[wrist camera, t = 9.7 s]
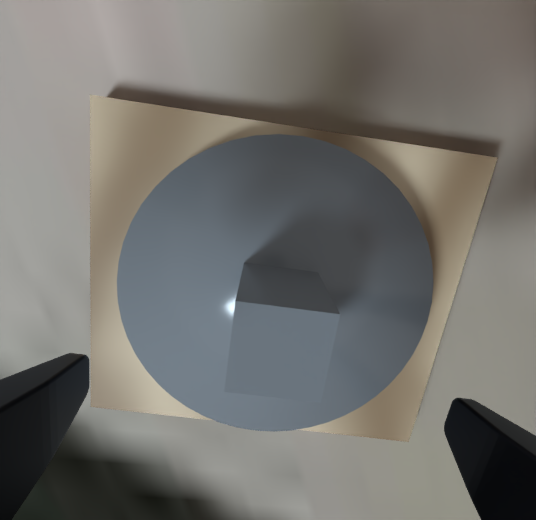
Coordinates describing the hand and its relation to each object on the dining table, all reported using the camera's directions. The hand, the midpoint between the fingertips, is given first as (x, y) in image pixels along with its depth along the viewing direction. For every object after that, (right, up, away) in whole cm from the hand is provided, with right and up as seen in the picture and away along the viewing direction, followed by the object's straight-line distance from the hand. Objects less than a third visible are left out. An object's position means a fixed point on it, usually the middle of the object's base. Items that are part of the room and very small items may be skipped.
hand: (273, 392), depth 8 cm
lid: (0, +2, +6) cm, 7 cm away
